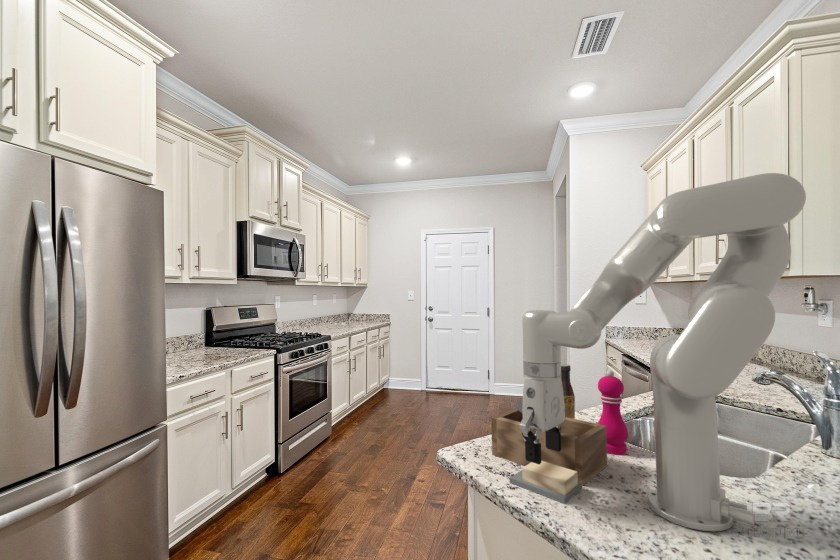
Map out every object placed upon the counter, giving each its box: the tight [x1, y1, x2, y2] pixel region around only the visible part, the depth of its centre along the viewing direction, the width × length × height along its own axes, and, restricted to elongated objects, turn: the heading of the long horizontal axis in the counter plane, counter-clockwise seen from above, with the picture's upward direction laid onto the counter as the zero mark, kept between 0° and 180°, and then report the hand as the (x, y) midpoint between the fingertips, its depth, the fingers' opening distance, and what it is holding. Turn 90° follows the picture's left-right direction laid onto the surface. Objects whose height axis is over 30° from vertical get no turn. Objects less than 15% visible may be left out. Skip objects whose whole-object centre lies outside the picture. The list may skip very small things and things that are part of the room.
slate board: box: [508, 469, 584, 504], centre depth 80 cm, size 12×8×1 cm, turn 44°
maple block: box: [521, 461, 578, 495], centre depth 79 cm, size 9×6×2 cm, turn 46°
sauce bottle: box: [561, 363, 576, 419], centre depth 108 cm, size 6×6×20 cm
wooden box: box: [490, 407, 608, 486], centre depth 93 cm, size 23×13×9 cm, turn 44°
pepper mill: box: [597, 369, 629, 456], centre depth 98 cm, size 7×7×20 cm
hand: (543, 455), depth 80 cm, fingers open, 8 cm apart
